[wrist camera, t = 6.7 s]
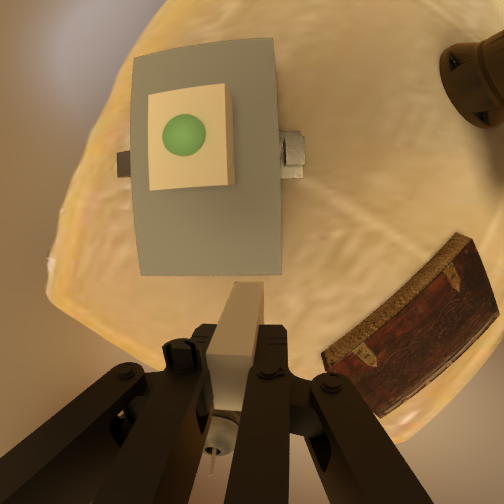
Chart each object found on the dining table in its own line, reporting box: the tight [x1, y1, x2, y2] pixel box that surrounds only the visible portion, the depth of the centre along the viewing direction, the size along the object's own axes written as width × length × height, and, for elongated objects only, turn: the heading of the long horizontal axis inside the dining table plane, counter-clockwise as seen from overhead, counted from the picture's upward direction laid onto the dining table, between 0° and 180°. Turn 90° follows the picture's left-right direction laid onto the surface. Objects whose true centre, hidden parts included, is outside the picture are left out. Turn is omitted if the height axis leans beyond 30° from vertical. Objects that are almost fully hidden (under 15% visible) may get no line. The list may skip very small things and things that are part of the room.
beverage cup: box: [203, 403, 241, 476], centre depth 34 cm, size 7×7×20 cm
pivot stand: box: [117, 131, 305, 179], centre depth 33 cm, size 16×22×7 cm
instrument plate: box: [130, 38, 282, 276], centre depth 25 cm, size 26×16×8 cm, turn 2°
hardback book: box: [321, 233, 500, 419], centre depth 38 cm, size 29×19×5 cm, turn 134°
